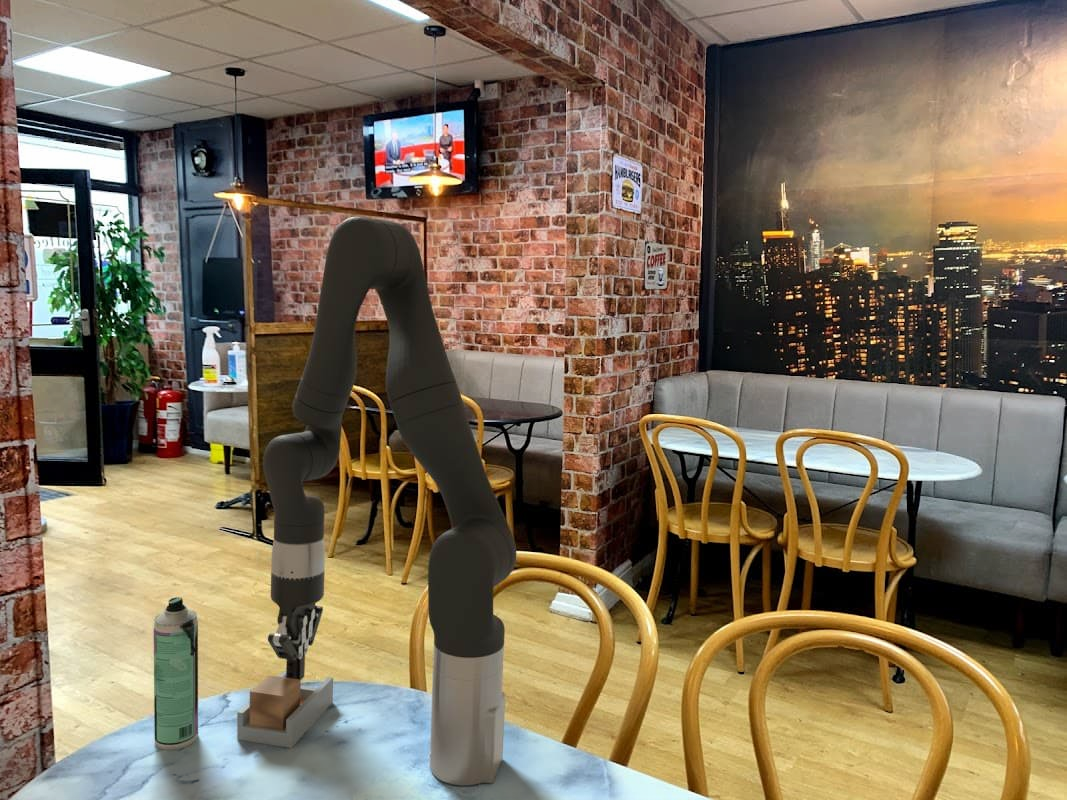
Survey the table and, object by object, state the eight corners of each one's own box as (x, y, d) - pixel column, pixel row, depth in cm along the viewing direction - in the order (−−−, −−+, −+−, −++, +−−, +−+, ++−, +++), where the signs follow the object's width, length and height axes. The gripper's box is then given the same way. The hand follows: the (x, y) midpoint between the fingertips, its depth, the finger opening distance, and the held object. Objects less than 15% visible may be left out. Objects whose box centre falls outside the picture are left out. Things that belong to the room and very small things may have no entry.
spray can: (205, 730, 111) (205, 593, 108) (184, 751, 105) (184, 608, 103) (168, 726, 111) (167, 590, 109) (146, 747, 106) (144, 605, 103)
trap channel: (332, 702, 120) (333, 677, 120) (291, 748, 107) (291, 720, 107) (283, 695, 121) (284, 670, 121) (237, 739, 109) (237, 712, 108)
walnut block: (300, 712, 113) (300, 679, 112) (282, 730, 108) (283, 696, 107) (268, 708, 114) (268, 675, 113) (249, 725, 109) (249, 691, 108)
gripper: (300, 585, 108) (297, 705, 110) (341, 556, 121) (337, 663, 123) (250, 579, 109) (248, 697, 111) (295, 551, 122) (293, 657, 124)
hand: (295, 679), depth 117 cm, fingers closed
